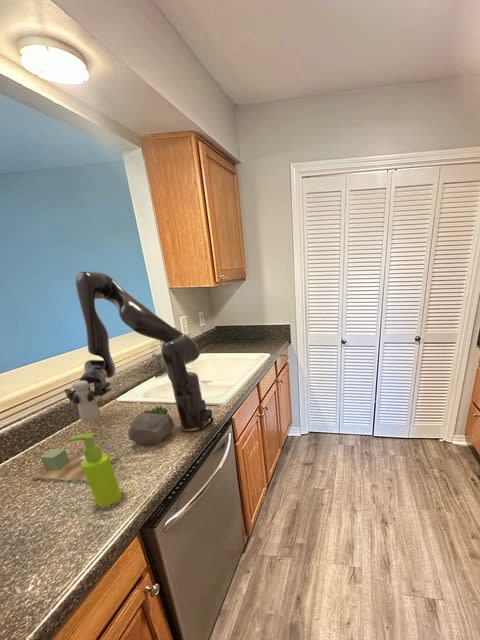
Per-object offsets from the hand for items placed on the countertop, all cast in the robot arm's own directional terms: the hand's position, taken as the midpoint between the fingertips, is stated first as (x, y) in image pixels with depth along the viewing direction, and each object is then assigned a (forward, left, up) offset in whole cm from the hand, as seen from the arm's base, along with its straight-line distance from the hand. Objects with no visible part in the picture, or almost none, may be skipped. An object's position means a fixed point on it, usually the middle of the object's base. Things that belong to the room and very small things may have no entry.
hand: (82, 400), depth 99 cm
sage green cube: (+8, +8, -19) cm, 22 cm away
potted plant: (-13, -11, -20) cm, 26 cm away
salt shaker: (+2, -2, -8) cm, 9 cm away
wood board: (+2, +8, -20) cm, 21 cm away
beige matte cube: (-5, +8, -19) cm, 21 cm away
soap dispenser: (-18, +21, -20) cm, 34 cm away
